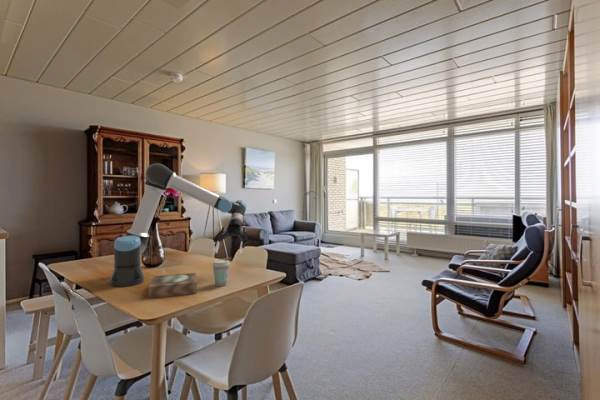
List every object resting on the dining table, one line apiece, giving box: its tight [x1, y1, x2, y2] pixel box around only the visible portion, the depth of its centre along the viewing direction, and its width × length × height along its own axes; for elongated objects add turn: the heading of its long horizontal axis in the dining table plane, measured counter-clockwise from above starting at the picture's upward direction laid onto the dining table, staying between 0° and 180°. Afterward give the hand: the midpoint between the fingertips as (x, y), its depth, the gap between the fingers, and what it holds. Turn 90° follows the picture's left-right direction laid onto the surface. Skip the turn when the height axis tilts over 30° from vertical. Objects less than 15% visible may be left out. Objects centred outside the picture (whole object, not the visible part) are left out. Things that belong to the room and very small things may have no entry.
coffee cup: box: [212, 259, 231, 287], centre depth 151 cm, size 8×8×12 cm
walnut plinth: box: [148, 272, 198, 299], centre depth 143 cm, size 20×18×5 cm
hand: (227, 252), depth 162 cm, fingers open, 13 cm apart
